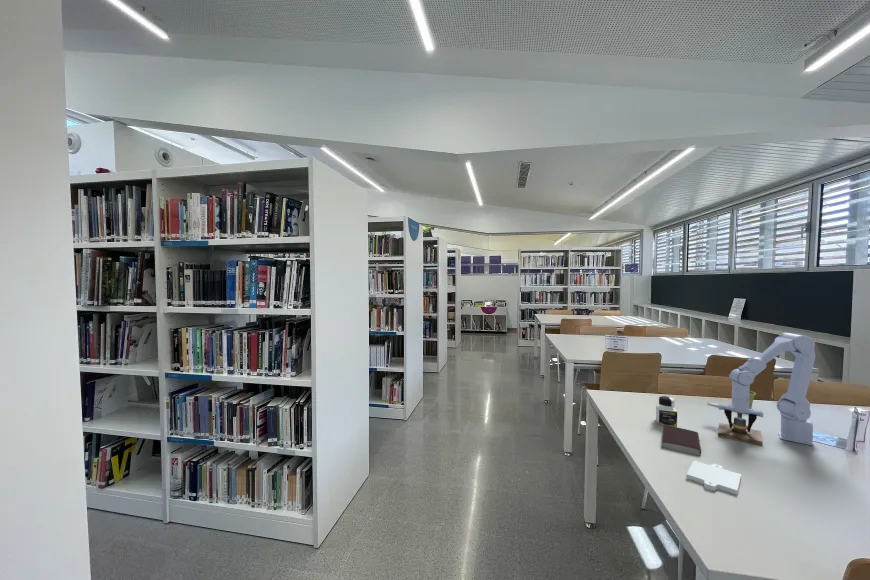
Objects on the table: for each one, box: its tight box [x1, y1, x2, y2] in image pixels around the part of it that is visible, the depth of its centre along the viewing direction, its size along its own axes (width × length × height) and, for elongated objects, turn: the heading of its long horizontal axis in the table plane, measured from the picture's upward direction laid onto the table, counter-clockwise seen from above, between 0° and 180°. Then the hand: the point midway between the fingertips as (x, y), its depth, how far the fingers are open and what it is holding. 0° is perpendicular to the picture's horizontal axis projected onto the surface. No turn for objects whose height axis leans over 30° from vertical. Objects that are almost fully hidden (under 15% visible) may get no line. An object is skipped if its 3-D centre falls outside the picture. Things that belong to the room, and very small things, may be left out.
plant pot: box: [749, 390, 757, 409], centre depth 188 cm, size 9×9×9 cm
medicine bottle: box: [655, 395, 678, 427], centre depth 166 cm, size 7×7×12 cm
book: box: [661, 425, 702, 456], centre depth 146 cm, size 12×19×3 cm, turn 146°
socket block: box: [717, 413, 764, 447], centre depth 154 cm, size 14×14×8 cm
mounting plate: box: [685, 460, 742, 496], centre depth 119 cm, size 18×13×2 cm
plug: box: [732, 416, 748, 435], centre depth 154 cm, size 5×5×7 cm
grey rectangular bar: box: [706, 402, 744, 415], centre depth 163 cm, size 13×2×1 cm, turn 30°
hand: (739, 429), depth 154 cm, fingers closed on plug, 5 cm apart
